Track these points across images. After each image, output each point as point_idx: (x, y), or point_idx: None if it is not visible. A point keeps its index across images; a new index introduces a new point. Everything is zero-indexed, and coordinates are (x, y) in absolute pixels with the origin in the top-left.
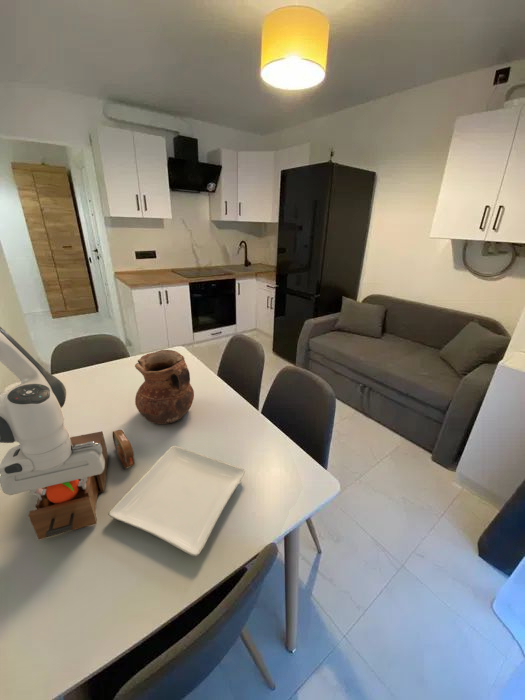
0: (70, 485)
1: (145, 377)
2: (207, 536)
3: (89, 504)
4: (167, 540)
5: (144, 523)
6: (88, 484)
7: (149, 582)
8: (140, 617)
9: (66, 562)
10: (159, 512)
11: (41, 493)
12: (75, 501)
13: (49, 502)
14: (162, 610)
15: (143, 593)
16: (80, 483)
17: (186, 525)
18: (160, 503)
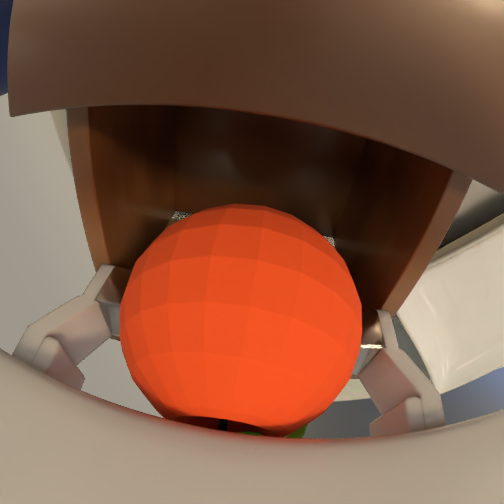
0: (299, 437)
1: None
2: (467, 382)
3: None
4: (431, 379)
5: (433, 324)
6: (396, 307)
7: None
8: (343, 393)
9: None
10: (470, 303)
11: (106, 327)
12: None
13: (155, 155)
14: (368, 395)
15: (360, 382)
16: (360, 362)
17: (472, 342)
18: (488, 283)
